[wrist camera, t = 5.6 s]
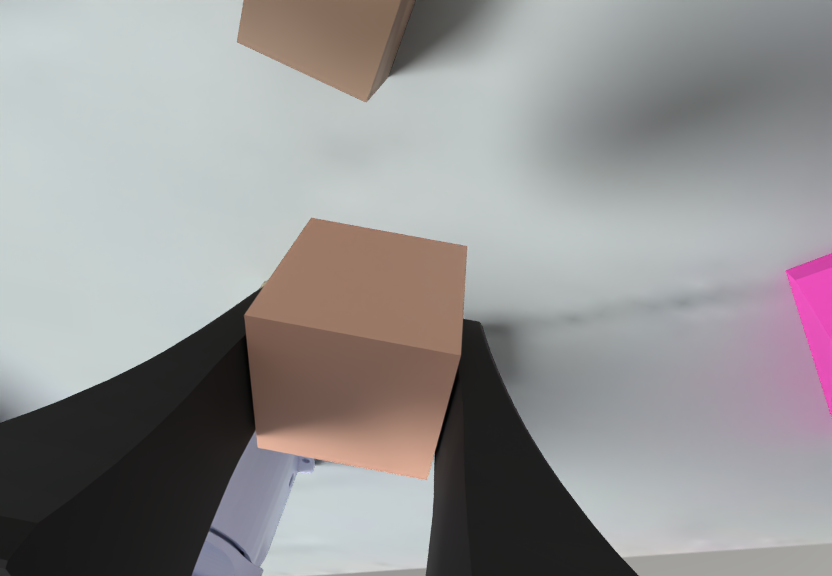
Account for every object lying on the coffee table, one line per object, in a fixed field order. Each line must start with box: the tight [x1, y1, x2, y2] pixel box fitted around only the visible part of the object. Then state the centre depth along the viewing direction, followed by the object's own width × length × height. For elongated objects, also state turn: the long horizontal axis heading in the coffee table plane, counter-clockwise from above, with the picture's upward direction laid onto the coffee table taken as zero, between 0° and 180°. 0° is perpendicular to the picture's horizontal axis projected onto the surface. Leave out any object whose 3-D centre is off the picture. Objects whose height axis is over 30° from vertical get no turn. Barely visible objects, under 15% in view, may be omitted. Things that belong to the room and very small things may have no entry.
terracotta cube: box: [244, 218, 467, 480], centre depth 11 cm, size 4×4×4 cm
